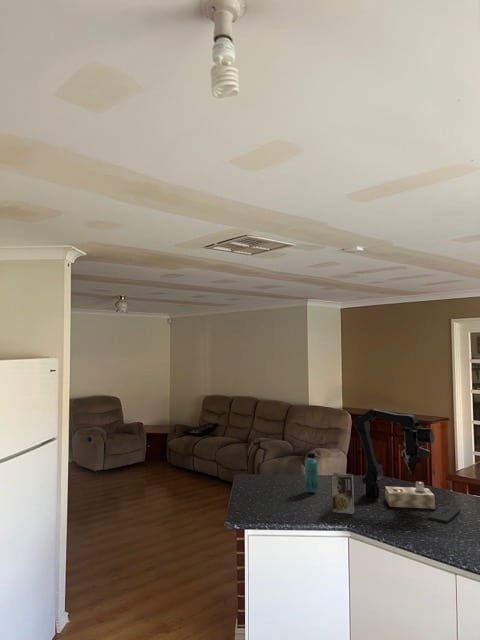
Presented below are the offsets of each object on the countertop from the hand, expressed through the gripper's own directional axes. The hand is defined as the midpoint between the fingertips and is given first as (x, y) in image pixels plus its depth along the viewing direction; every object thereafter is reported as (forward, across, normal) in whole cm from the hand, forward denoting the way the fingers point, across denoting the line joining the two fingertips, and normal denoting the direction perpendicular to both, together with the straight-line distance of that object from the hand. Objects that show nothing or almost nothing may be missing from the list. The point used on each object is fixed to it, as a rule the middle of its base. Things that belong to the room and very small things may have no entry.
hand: (412, 474), depth 222 cm
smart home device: (+15, -14, -10) cm, 23 cm away
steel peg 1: (+13, 0, +7) cm, 15 cm away
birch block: (+14, +1, +2) cm, 14 cm away
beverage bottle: (+13, +10, +48) cm, 51 cm away
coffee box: (+13, -16, +34) cm, 40 cm away
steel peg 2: (+10, +1, -3) cm, 10 cm away
